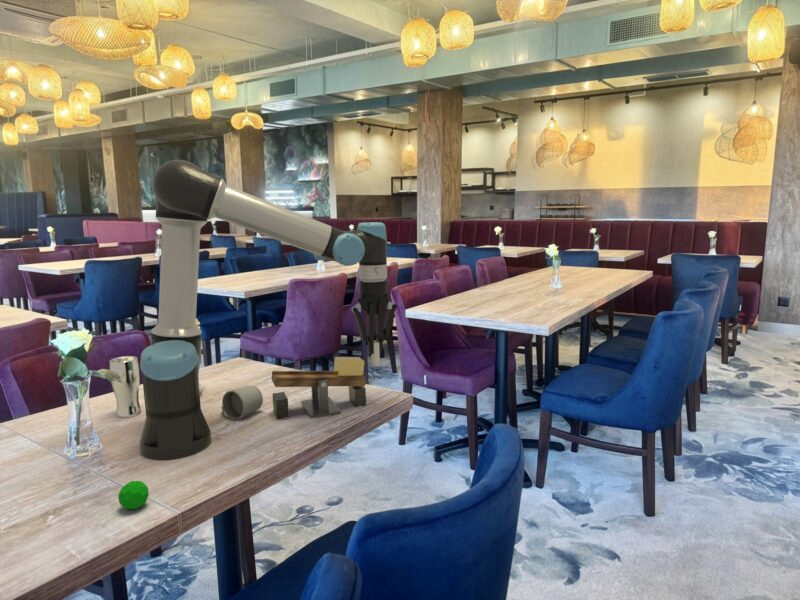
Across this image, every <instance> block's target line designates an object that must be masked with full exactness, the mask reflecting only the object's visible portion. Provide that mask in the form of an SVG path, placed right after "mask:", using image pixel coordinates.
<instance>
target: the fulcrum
mask: <svg viewBox="0 0 800 600" xmlns="http://www.w3.org/2000/svg"><path fill="white" fill-rule="evenodd" d="M310 388H311V391H310V392H311V399H304V400H300V404H301V406H302V408H303V409H304V411H305V412H306V414H307V415H308V417H309V419H316V418H322V417H329V415H330V416H336V414H337V415H341V410H340V409H339V407H338V406H337V404H336V403H334V401H333V400H332V398H331V397H330V396H329V386H328V380H327V379H324V380H318V387H310ZM366 391H367V390H366V386H348V397H349V398H348V399H349V402H350V403H351V405H352V406H354V408H360V407H359V406H362V407H366V406H367V392H366ZM365 405H366V406H365ZM272 407H273V410H272V411H273V413H274V415H275V418H276V420H282V419H287V418H290V417H289V416H290V415H289V414H290V413H289V412H290V411H289V398H288V396H287V395H286V393H285V392H284V391H281V392H273V393H272Z"/></svg>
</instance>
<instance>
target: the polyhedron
mask: <svg viewBox="0 0 800 600" xmlns="http://www.w3.org/2000/svg"><path fill="white" fill-rule="evenodd" d="M149 496H150V492H149V487H148V486H147V484H145V483H144V482H143V481H140V480H131V481H129V482H128V483H125V485H124V486H122V487H121V489H120V490H119V494H118V496H117V498H118V502H119V504H120V506H122V507H123V508H124V509H125V510H138V509H139V508H140V507H141V506H143V505H144V504H146V503H147V500H148V498H149ZM138 507H139V508H138Z"/></svg>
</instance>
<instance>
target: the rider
mask: <svg viewBox="0 0 800 600" xmlns="http://www.w3.org/2000/svg"><path fill="white" fill-rule="evenodd" d="M364 370H365V360H364V359H362V358H361V357H360V356H335V357H334V365H333V371H334V374H333V375H334V376H335V377H364Z"/></svg>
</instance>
